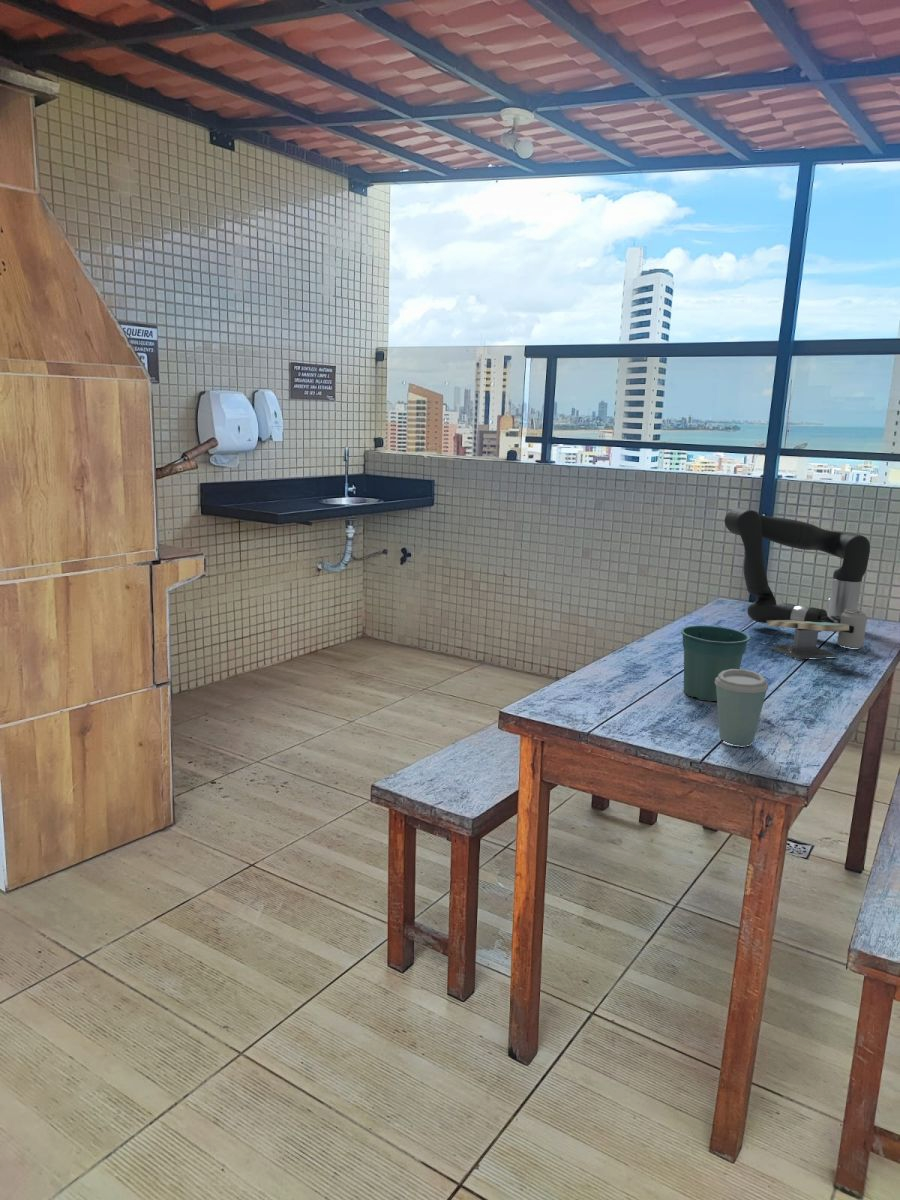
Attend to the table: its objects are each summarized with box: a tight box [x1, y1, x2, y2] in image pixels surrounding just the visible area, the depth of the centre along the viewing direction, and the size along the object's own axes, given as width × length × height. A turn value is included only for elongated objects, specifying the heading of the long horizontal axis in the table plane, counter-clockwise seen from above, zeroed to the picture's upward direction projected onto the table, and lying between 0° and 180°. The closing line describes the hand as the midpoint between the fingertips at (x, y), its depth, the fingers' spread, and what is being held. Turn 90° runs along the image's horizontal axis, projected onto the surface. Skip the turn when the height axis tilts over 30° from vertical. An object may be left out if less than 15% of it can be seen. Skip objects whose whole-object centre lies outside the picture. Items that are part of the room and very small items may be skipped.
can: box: [837, 609, 868, 649], centre depth 266 cm, size 8×8×12 cm
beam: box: [766, 620, 849, 632], centre depth 255 cm, size 26×10×2 cm, turn 18°
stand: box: [771, 628, 838, 660], centre depth 256 cm, size 12×14×8 cm
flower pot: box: [680, 624, 751, 702], centre depth 209 cm, size 16×16×16 cm
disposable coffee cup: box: [715, 668, 769, 746], centre depth 177 cm, size 11×11×15 cm
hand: (859, 628), depth 265 cm, fingers closed on can, 7 cm apart
